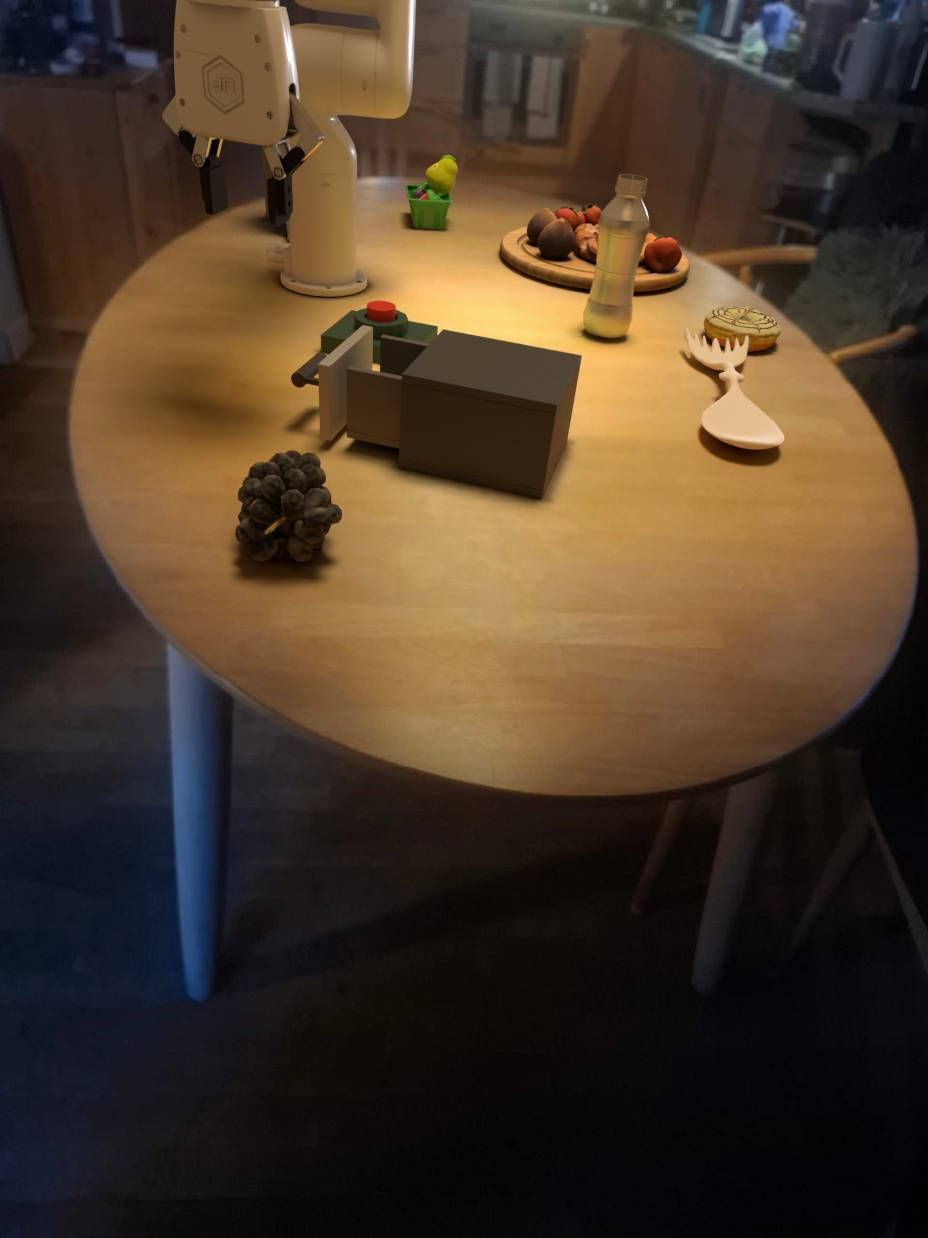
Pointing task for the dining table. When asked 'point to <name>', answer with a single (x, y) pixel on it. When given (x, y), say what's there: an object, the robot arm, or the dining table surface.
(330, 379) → the drawer
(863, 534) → the dining table surface
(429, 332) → the control block
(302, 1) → the robot arm
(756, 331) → the decorated donut
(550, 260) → the wooden plate
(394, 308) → the button
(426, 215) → the fruit basket
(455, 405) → the cabinet
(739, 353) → the cream spork
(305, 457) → the fruit
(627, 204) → the plastic bottle
